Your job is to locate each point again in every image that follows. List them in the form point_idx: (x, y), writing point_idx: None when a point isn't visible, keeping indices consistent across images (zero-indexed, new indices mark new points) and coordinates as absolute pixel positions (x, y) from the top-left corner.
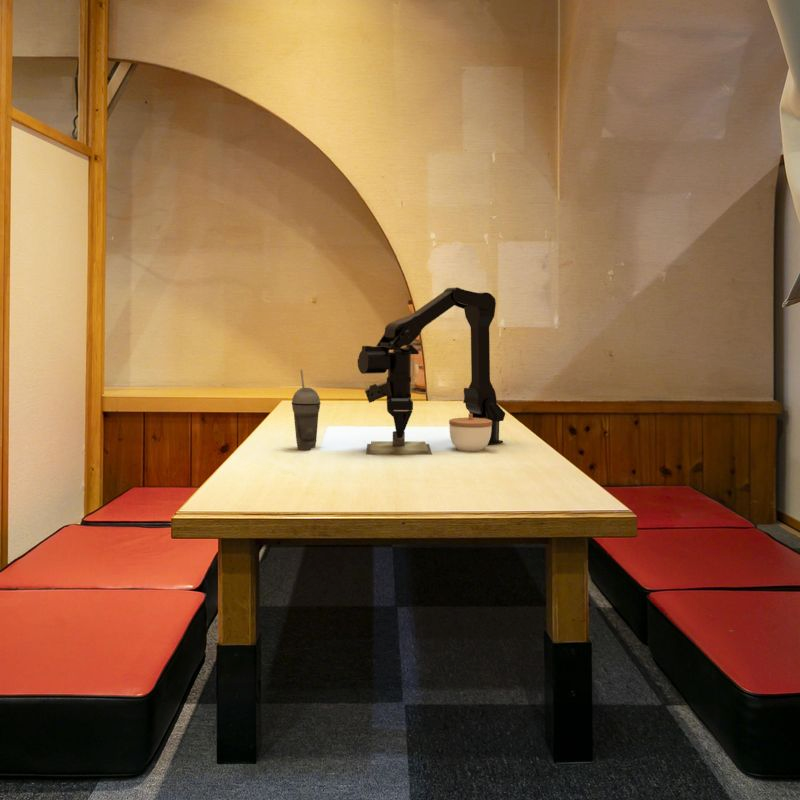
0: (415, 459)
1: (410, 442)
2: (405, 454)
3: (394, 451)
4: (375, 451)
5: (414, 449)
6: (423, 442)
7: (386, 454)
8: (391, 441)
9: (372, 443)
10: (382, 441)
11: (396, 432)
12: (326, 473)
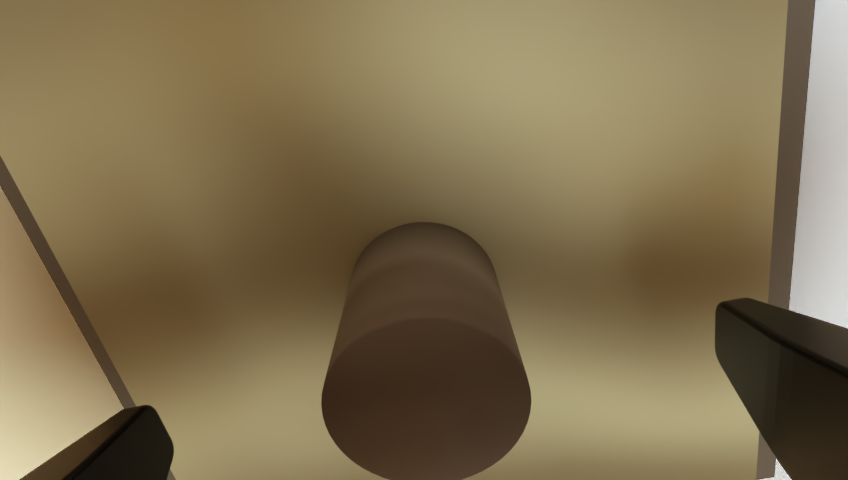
0: (12, 467)
1: (684, 369)
2: (114, 387)
3: (86, 299)
4: None
5: (232, 465)
6: (686, 477)
7: (19, 213)
8: (766, 142)
9: None
10: (777, 4)
11: (39, 467)
12: None
